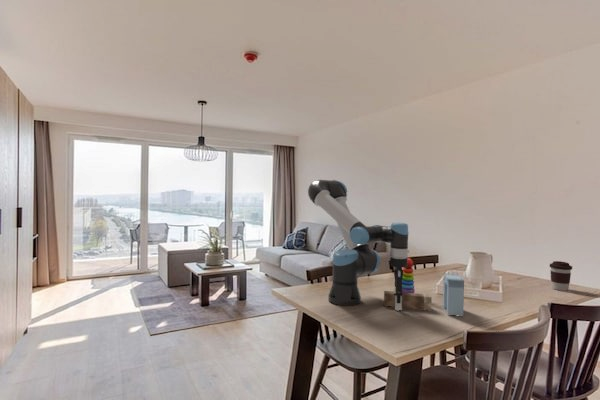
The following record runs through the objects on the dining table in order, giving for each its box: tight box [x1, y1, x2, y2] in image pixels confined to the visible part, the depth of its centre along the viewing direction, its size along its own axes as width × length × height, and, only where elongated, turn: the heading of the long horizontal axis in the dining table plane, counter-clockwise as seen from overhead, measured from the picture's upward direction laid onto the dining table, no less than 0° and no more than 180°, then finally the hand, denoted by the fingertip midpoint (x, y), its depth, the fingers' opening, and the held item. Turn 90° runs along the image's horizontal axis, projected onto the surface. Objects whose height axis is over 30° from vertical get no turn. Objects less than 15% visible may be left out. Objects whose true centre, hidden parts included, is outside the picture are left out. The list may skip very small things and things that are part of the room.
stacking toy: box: [402, 257, 416, 293], centre depth 171 cm, size 8×8×19 cm
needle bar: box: [383, 290, 432, 311], centre depth 153 cm, size 20×4×6 cm, turn 76°
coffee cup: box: [549, 260, 573, 292], centre depth 188 cm, size 10×10×15 cm
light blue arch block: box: [442, 273, 465, 317], centre depth 148 cm, size 6×12×15 cm, turn 166°
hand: (397, 306), depth 154 cm, fingers open, 11 cm apart
